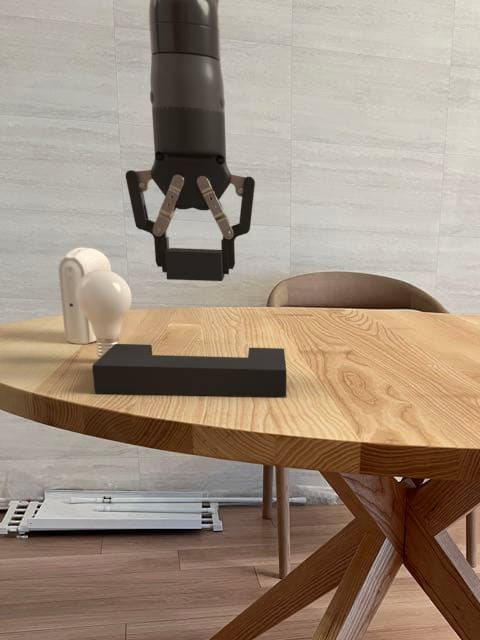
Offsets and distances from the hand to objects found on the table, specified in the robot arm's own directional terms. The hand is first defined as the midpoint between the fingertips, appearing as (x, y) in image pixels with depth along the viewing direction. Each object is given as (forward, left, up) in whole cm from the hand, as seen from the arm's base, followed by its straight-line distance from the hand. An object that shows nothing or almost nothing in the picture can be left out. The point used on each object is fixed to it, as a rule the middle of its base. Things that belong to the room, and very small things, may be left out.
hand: (196, 272), depth 94 cm
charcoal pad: (0, -4, -12) cm, 12 cm away
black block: (0, 0, -1) cm, 1 cm away
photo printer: (-17, +25, -12) cm, 33 cm away
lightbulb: (-12, +8, -12) cm, 18 cm away
